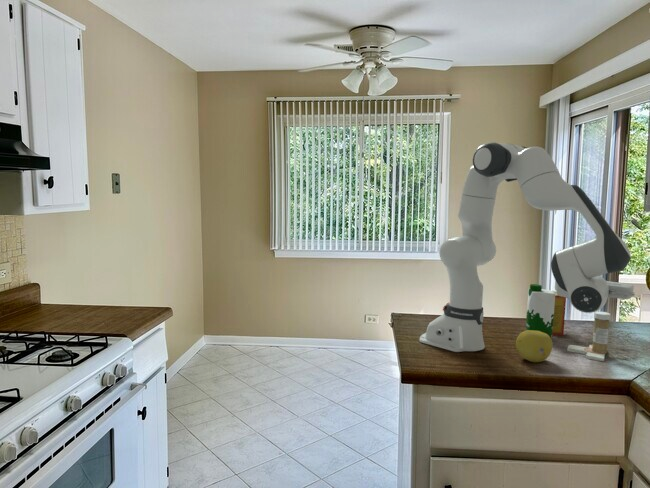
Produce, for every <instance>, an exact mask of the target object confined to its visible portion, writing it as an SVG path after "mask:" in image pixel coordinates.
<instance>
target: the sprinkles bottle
mask: <svg viewBox="0 0 650 488" xmlns="http://www.w3.org/2000/svg"><path fill="white" fill-rule="evenodd" d="M593 316H594V324H593V334H592V345H593V346H592V351H594V352H598V353H605V354H607V352H608V341H609V331H610V320H611V313H609V312H607V311H596V312H594V315H593Z"/></svg>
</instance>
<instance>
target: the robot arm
mask: <svg viewBox="0 0 650 488" xmlns="http://www.w3.org/2000/svg"><path fill="white" fill-rule="evenodd" d="M503 181H506V182H507V183H509V182H513V181H517V182H518V184H519V187H520V190H521V192H522V195H523V197H524V199H525V200H526V202H527V203H528V204H527V205H530V206H531V207H532V208H534V209H537V210H541V211H551V212H553V211H575V212H578V213H579V214H580V215H581V216H582V217H583V218H584V220H585V221H586V223H587V224H588V226H589V227H590V228H591V230H592V231H593V233H594V234H595V236H594V238H591V239H590V240H587V241H586V240H585V241H584V242H581V243H578V244H575V245H572V246H569V247H565V248H563V249H560V250H557V251H555V252H554V253H553V255H552V258H551V260H550V261H551V262H550V268H551V272H552V275H553V278H554V291H556V292H557V295H558V296H561V297H565V298H566V299H569V302H570V304H571V305H572V307H574V309H575V310H577V311H579V312H580V313H586V314H588V313H589V314H591V313H595V312H599V311H600V310H601V309H602V308H603V307H604V306H605V304H606V303H607V300H608V298H613V299H620V300H631V298H632V297H635V292H634V288H635V287H634V284H631V283H625V282H616V281H610V280H606V279H605V278H604V277H602V276H604V275H606V274H611V273H617V272H621V271H624V269H626V267H627V266H628V265H629V263H630V262H631V260H632V257H631V251H630V249H629V247H628V245H627V244H626V242H625V241H624V240H623V239H622V238H621V237H620V236H619V235H618V234H617V233H616V232H615V231H614V230H613V229H612V228H611V226H610V224H609V223H608V221H607V220H606V219H605V217H604V215H602V213H601V212H600V211H599V209H598V208H597V206H596V205H595V204H594V202H593V201H592V200H591V199H590V198H589V196H588V195H587V193H586V192H585V191H584V190H583V189H582V188H581V187H580V186H578V185H576V184H570V183H568V182H566V181H565V180H564V179H563V177H562V175H561V173H560V171H559V169H558V167H557V166H556V163H555V162H554V160H553V159H552V157H551V156H550V154H549V153H548V152H547V150H546V149H545V148H543V147H542V146H541V147H540V146H529V147H525V146H520V145H517V144H513V143H499V142H486V143H483V144H481V145H480V146H478V147H477V148H476V150H475V152H474V153H473V157H472V166H471V167H470V168H469V169H468V171H467V174H466V177H465V180H464V183H463V185H462V186H463V187H462V192H461V197H460V203H459V209H458V214H457V216H458V220H459V221H460V223H461V227H462V228H461V230H462V235H461V236H453V237H451V238H449V239H447V240H445V241H443V243H442V244H441V246H440V247H439V258H440V261H441V262H442V264H443V265H444V266H445V268H446V271H447V274H448V279H449V302H448V303H446V304H445V305H444V306H443V307H442V312H443V314H441V315H440V316H438V317H436V318H435V319H434V320H432V321H430V322H429V324H428V325H427V328H426V332H424V333H422V334H421V335H420V337H419V342H420V343H422V344H425V345H429V346H433V347H437V348H440V349H444V350H447V351H451V352H454V353H460V352H478V351H482V350H484V349H485V348H486V347H485V342H484V336H483V335H484V334H483V325H482V324H483V322H484V307H483V297H484V285H483V282H481V280H480V279H479V273H478V267H479V266H484V265H486V264H488V263H489V262H491V261H492V260H493V259H494V258H495V256H496V254H497V246H496V243H495V242H494V239H493V232H492V230H493V229H492V227H493V226H492V224H493V223H492V222H493V216H494V215H493V214H494V209H495V204H496V198H497V191H498V188H499V185H500V183H502V182H503Z"/></svg>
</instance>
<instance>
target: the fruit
mask: <svg viewBox="0 0 650 488" xmlns="http://www.w3.org/2000/svg"><path fill="white" fill-rule="evenodd" d="M515 347H516V350H517V353H518V354H519V355H520V356H521V357H522V358H524V359H525V360H526V361H528V362H531V363H541V362H545V360H547V359H548V357H549V356H550V355H551V354H552V351H553V340H552V337H551V338H550V336H549V335H547V334H546V333H543V332H540V331H534V330H526V329H525V330H523V331H522V332H520V333H519V335H518V336H517V337H516V340H515Z"/></svg>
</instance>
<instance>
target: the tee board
mask: <svg viewBox="0 0 650 488" xmlns="http://www.w3.org/2000/svg"><path fill="white" fill-rule="evenodd" d="M588 346H589V347H587V346H579V345H575V344H568V347H567V352H571V353H576V354H577V353H578V354H581V355H582V354H583V355H586V356H585V359H588V360H595V361H599V362H605V358H606V353H598V352H594V351H592V346H593V344H589V345H588Z"/></svg>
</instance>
